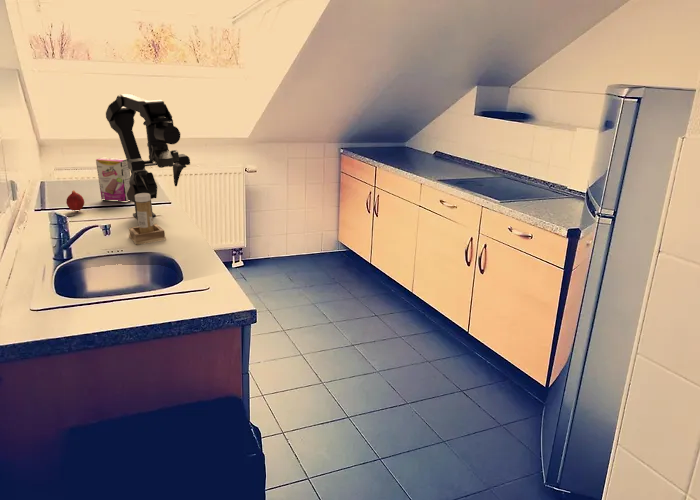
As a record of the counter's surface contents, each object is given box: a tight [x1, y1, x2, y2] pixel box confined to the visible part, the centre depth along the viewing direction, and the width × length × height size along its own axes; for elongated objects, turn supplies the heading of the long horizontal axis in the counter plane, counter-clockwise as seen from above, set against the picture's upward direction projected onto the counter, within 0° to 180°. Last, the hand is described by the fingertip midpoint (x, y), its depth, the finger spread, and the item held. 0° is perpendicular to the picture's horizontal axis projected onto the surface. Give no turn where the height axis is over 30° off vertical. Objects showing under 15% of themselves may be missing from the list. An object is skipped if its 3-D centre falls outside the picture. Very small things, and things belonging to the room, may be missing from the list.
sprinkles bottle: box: [135, 193, 154, 234], centre depth 178 cm, size 5×5×13 cm
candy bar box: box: [95, 156, 131, 201], centre depth 218 cm, size 11×5×16 cm, turn 77°
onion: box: [65, 190, 85, 211], centre depth 205 cm, size 6×6×8 cm
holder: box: [128, 223, 167, 246], centre depth 180 cm, size 9×9×3 cm
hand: (162, 187), depth 188 cm, fingers open, 9 cm apart
